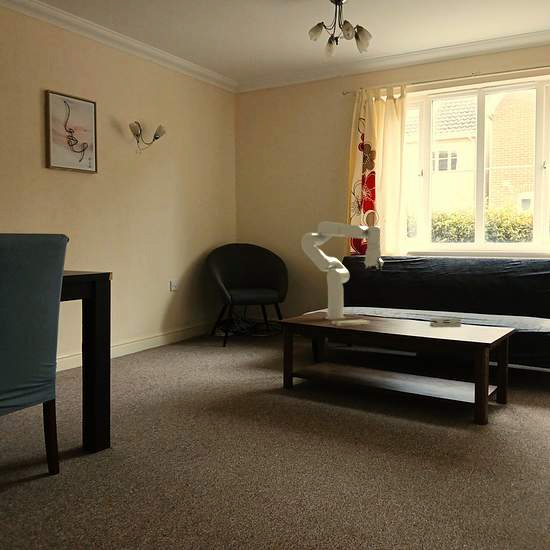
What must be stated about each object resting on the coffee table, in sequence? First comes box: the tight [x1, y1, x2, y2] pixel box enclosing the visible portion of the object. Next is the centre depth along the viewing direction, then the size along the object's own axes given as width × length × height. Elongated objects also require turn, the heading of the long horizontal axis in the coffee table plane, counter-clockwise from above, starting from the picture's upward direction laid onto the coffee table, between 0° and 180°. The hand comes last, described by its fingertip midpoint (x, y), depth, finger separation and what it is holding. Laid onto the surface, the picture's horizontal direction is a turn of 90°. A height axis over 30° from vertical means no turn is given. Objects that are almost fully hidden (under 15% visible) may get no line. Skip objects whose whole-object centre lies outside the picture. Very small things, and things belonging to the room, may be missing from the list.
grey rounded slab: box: [429, 317, 462, 328], centre depth 321 cm, size 17×5×10 cm
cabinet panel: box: [331, 316, 372, 327], centre depth 326 cm, size 10×20×4 cm, turn 118°
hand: (373, 275), depth 334 cm, fingers open, 9 cm apart
